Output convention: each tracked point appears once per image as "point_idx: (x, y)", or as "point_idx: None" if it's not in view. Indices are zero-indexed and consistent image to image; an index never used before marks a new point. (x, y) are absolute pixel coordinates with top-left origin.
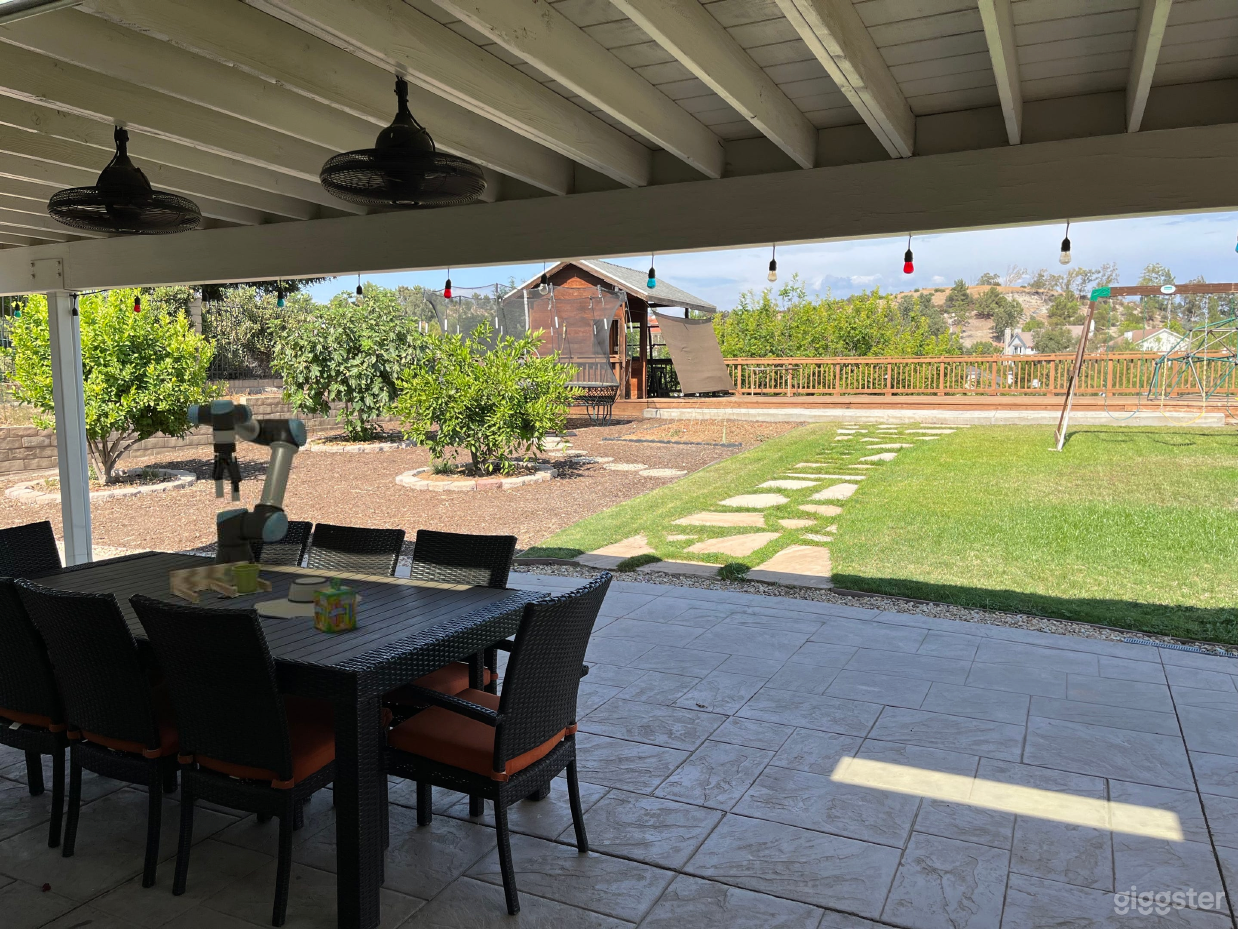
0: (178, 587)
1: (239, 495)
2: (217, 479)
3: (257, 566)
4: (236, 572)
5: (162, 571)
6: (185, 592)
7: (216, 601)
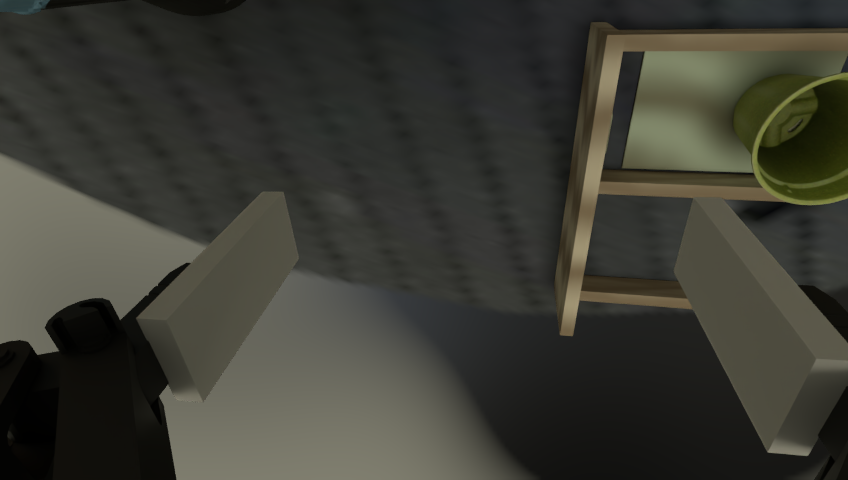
0: (600, 297)
1: (749, 234)
2: (153, 386)
3: (841, 78)
4: (819, 189)
5: (152, 169)
6: (684, 306)
7: (794, 243)
